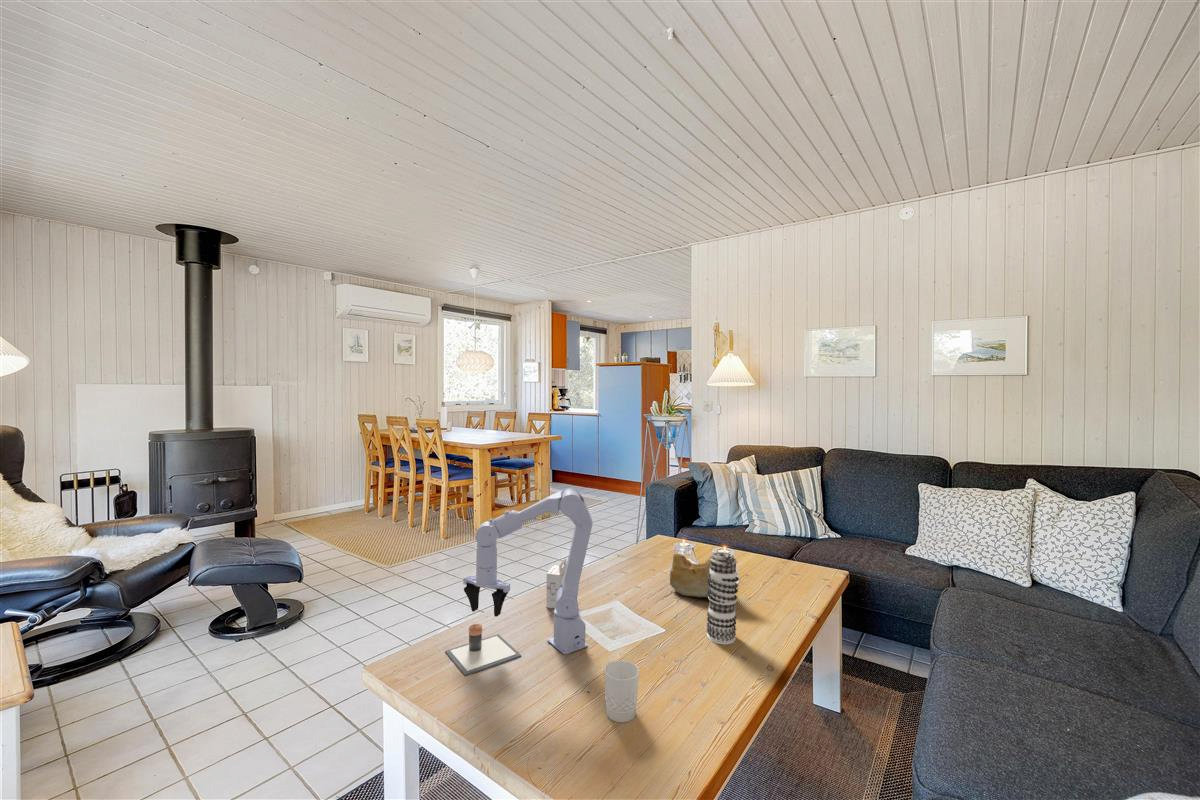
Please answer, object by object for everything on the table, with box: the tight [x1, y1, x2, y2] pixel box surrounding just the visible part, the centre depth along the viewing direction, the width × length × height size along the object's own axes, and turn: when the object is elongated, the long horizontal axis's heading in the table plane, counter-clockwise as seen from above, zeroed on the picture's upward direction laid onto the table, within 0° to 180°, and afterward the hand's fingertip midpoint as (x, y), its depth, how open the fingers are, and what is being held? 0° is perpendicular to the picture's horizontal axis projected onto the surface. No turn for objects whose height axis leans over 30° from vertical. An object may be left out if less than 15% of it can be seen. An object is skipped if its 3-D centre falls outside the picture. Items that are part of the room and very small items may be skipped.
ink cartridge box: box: [546, 557, 567, 609], centre depth 169 cm, size 9×5×15 cm, turn 168°
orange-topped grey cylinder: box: [468, 623, 483, 652], centre depth 137 cm, size 4×4×6 cm
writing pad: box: [444, 634, 522, 677], centre depth 135 cm, size 14×16×1 cm
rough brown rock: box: [669, 553, 711, 598], centre depth 180 cm, size 23×17×15 cm
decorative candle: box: [706, 551, 740, 645], centre depth 148 cm, size 9×9×25 cm
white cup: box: [603, 659, 640, 723], centre depth 112 cm, size 8×8×10 cm
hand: (486, 612), depth 140 cm, fingers open, 7 cm apart
